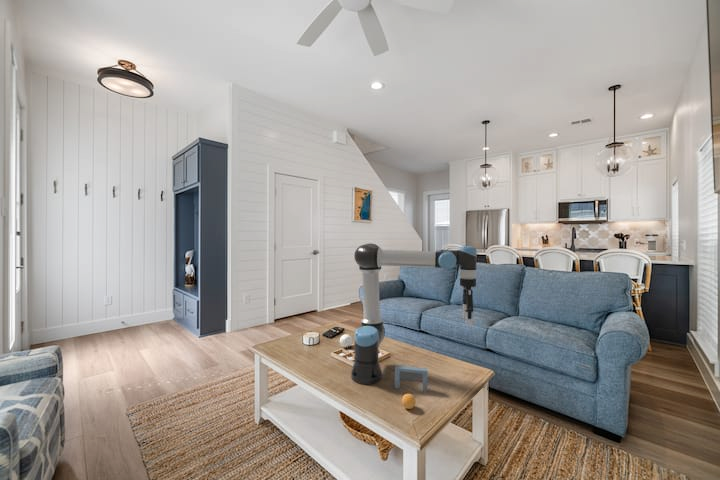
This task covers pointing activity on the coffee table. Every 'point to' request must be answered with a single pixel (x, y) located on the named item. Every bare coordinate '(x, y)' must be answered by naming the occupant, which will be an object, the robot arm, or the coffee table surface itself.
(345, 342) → the geometric ball
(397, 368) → the bridge
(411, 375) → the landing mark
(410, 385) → the coffee table surface
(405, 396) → the ball
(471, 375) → the coffee table surface
